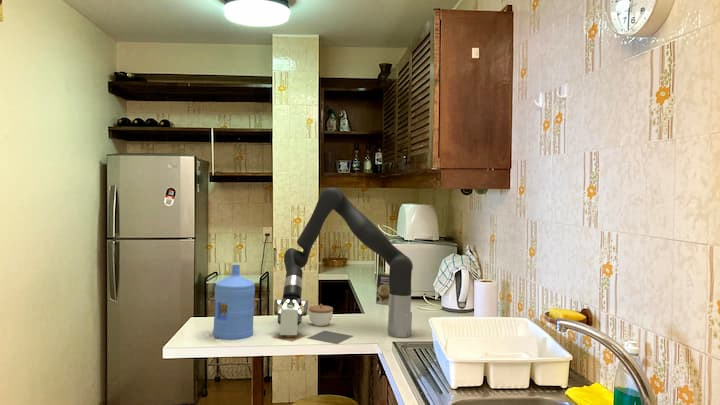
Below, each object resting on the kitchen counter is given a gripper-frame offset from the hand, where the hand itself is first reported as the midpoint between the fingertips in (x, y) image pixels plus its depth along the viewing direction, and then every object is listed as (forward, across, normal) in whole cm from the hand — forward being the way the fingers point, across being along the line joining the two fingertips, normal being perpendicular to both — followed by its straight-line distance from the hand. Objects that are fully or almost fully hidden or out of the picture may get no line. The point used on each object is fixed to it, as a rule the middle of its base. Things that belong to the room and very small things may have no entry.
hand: (289, 323), depth 196 cm
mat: (+3, +17, +6) cm, 18 cm away
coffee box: (-48, +46, +57) cm, 88 cm away
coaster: (+3, 0, +5) cm, 6 cm away
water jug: (+2, -22, +6) cm, 23 cm away
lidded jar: (-11, +12, +20) cm, 26 cm away
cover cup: (+2, 0, +4) cm, 4 cm away
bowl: (+3, 0, +5) cm, 6 cm away
